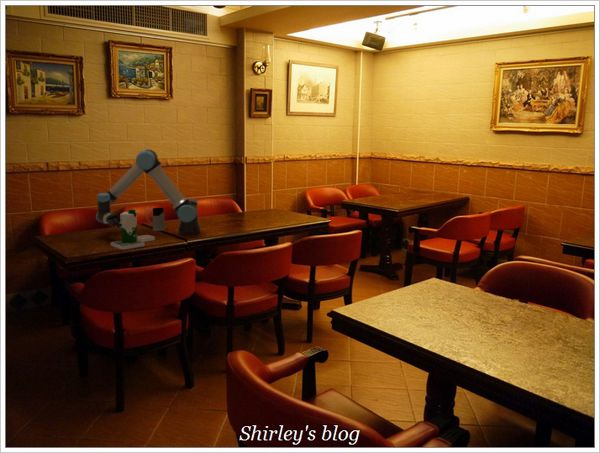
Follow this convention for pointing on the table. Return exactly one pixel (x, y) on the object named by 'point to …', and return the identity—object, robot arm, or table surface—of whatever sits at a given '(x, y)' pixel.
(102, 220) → the robot arm
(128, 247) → the shallow grey tray
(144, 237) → the small square white tray
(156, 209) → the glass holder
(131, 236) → the milk carton
